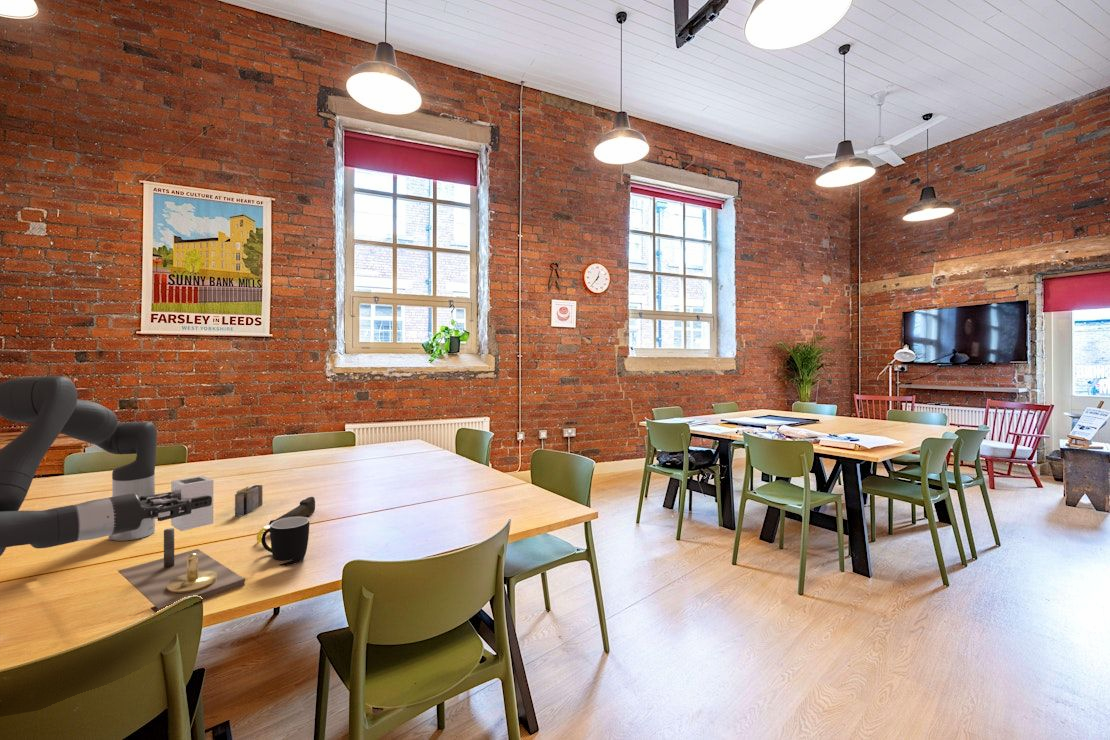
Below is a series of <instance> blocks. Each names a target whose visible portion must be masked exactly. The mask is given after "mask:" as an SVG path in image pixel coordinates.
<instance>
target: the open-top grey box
mask: <svg viewBox="0 0 1110 740" xmlns="http://www.w3.org/2000/svg"><path fill="white" fill-rule="evenodd" d="M170 488H171V489H170V490H171V491H170V492H171V496H172V498H171V499H174V498H177V499H179V500H181V501H182V500H187V499H194V498H199V497H205V496H211V497H212V504H211V505H210V506H207V507H202V508H197V509H193V510H192V511H191V514H187V515H183V516H179V517H175V518H171V519H170V526H172V528H173V527H174V529H177V530H179V532H183V531H187V530H191V529H197V528H201V527H205V526H209V525H213V524H214V479H212V478H209V477H207V476H204V475H200V476H192V477H187V478H181V479H175V480H171V485H170ZM172 505H173V503H172ZM179 509H184V506H183V507H180V508H179Z"/></svg>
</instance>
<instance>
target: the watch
mask: <svg viewBox="0 0 1110 740" xmlns="http://www.w3.org/2000/svg"><path fill="white" fill-rule="evenodd" d="M269 528H270V525H269V524H268V525H264V526H262V528H261V529H260V530H259V531H258V532H257V534H256V541H257V544H260V543H261V544H262V541H261V538H262V535H263V533H264V532H265V531H266V530H267V529H269ZM267 545H268V546H269V547H270V548H271V544H267Z"/></svg>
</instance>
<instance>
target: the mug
mask: <svg viewBox="0 0 1110 740" xmlns="http://www.w3.org/2000/svg"><path fill="white" fill-rule="evenodd" d="M269 531H270V532H269ZM268 533H269V536H270V546H271V547H269V546H268V545H269V544H267V541H266V536H267V534H268ZM309 535H310V519H309V517H288V518H283V519H279V520H277V521H274V522H273V523H271V525H270V528H269V529H267V530H266V531H263V532H262V534H261V541H262V543H261V545H262V547H263V548H264V549H265V551H268V552H270V553H271V554H272V557H273V558H272V559H274V560H275V561H276V562H277V561H278V562H283V563H281V564H278V565H279V566H292V565H295V563H296V564H298V563H300V562H302V561H303V560H304V558H305V556H306V554H307V550H308V544H309Z"/></svg>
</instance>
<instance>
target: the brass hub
mask: <svg viewBox="0 0 1110 740" xmlns="http://www.w3.org/2000/svg"><path fill="white" fill-rule="evenodd" d="M216 580H217V573H216V572H214V571H198V555H197V554H196V553H192V554H190V555H188V557H187V574H184V575H181V576H178V577H176V578H174V579H172V580H171V581H169V582H168V584H167V591H168V592H169V593H172V594H184V593H190V592H195V591H198V590H201V589H204V588H206V587H209V586H210V585H212V584H214V583H215V582H216Z"/></svg>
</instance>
